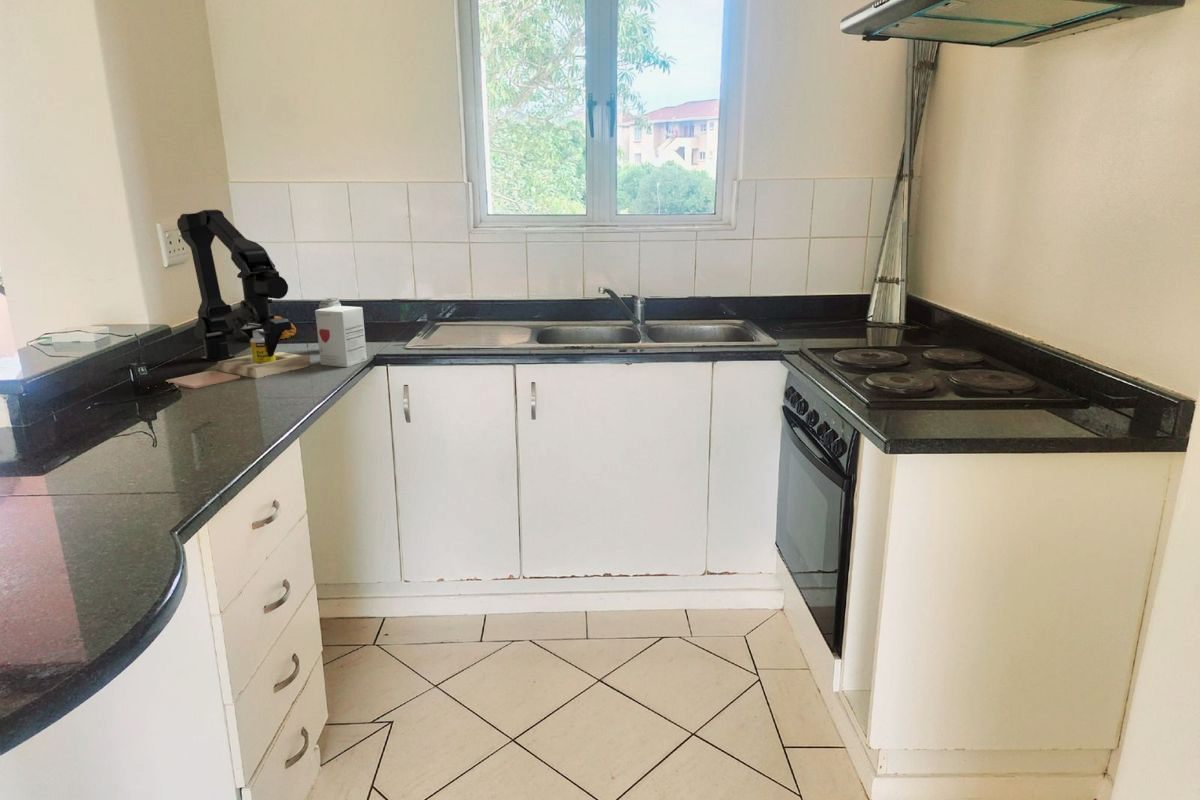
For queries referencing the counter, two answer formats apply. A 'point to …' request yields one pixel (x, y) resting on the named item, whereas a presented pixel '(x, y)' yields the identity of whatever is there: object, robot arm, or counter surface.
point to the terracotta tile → (203, 379)
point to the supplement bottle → (260, 348)
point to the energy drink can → (329, 303)
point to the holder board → (264, 365)
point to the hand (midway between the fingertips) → (263, 355)
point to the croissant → (287, 331)
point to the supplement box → (341, 335)
